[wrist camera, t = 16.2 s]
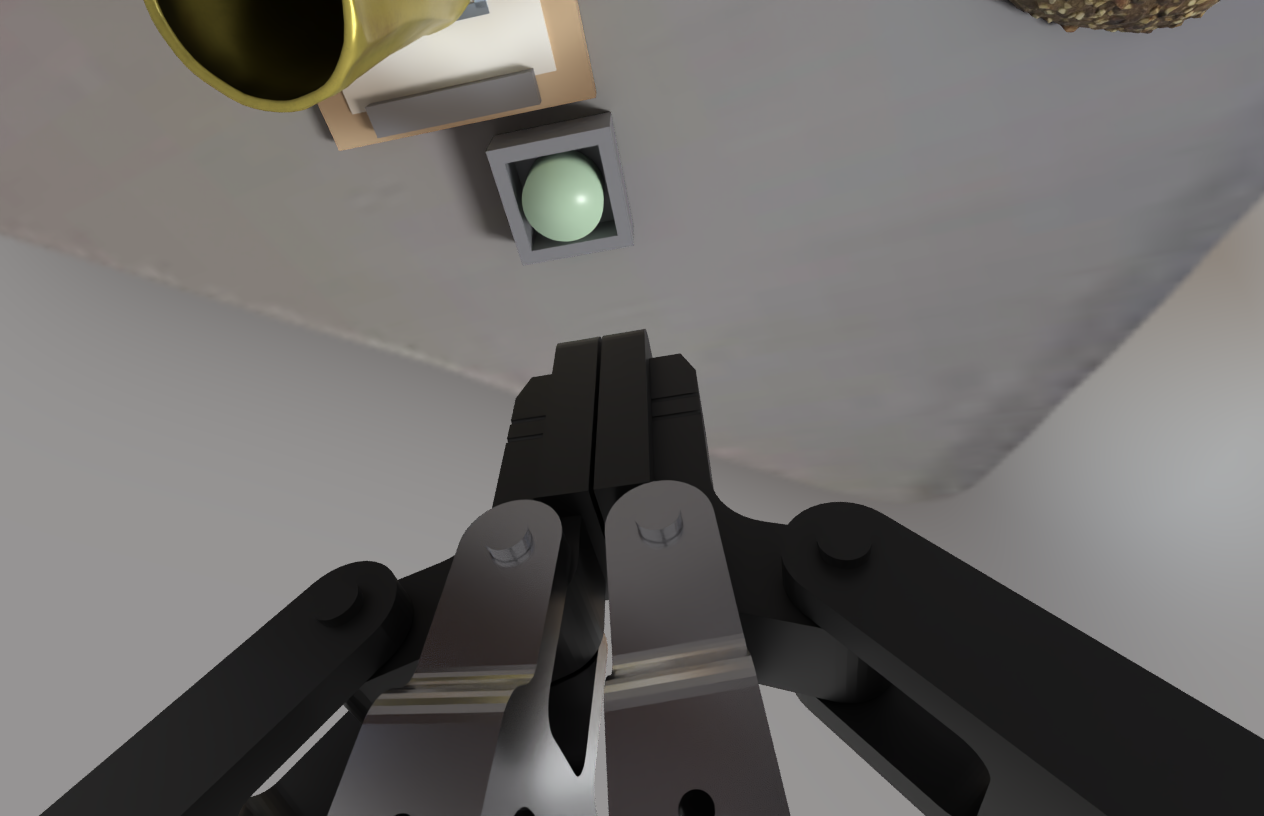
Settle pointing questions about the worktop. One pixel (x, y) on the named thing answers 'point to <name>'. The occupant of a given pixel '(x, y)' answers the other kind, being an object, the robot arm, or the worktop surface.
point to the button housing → (524, 147)
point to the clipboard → (468, 73)
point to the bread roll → (1115, 13)
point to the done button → (563, 196)
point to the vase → (292, 43)
